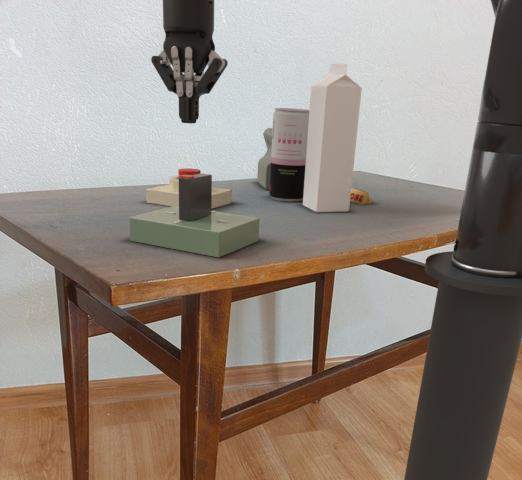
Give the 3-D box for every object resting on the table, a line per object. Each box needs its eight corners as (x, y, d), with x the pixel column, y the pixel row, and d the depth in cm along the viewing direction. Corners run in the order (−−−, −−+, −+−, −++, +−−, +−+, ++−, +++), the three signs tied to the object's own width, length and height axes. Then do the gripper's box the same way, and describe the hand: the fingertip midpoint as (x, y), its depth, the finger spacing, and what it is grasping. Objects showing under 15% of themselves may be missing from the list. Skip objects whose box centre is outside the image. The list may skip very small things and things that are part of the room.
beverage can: (274, 194, 110) (278, 107, 104) (308, 197, 109) (315, 109, 102) (265, 199, 104) (269, 108, 98) (301, 203, 103) (307, 110, 97)
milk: (316, 212, 96) (327, 62, 87) (302, 205, 101) (311, 62, 92) (349, 211, 98) (364, 64, 89) (334, 204, 103) (346, 64, 94)
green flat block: (258, 241, 77) (259, 216, 76) (218, 257, 69) (219, 231, 67) (176, 226, 82) (175, 203, 81) (130, 241, 74) (128, 215, 73)
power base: (231, 203, 100) (232, 178, 98) (202, 211, 93) (202, 185, 91) (177, 195, 105) (177, 172, 103) (146, 202, 97) (145, 177, 96)
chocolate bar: (361, 205, 105) (362, 193, 104) (318, 194, 114) (319, 182, 113) (371, 204, 106) (373, 192, 105) (328, 193, 115) (329, 181, 114)
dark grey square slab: (201, 213, 77) (201, 171, 74) (211, 214, 76) (212, 172, 74) (178, 219, 72) (178, 175, 70) (189, 221, 72) (189, 176, 70)
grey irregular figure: (303, 194, 112) (307, 134, 107) (256, 191, 112) (258, 132, 107) (299, 181, 127) (303, 128, 122) (257, 179, 127) (259, 126, 122)
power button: (204, 180, 98) (204, 169, 97) (192, 183, 95) (192, 172, 94) (186, 178, 99) (186, 167, 99) (174, 180, 96) (173, 169, 96)
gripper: (136, -7, 86) (140, 120, 93) (213, -8, 81) (212, 127, 88) (166, 0, 92) (168, 119, 99) (240, -1, 87) (236, 125, 94)
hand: (189, 122), depth 94 cm, fingers closed
